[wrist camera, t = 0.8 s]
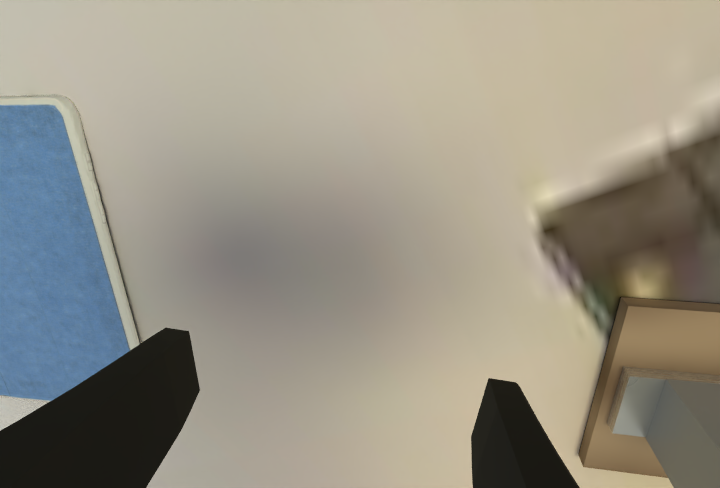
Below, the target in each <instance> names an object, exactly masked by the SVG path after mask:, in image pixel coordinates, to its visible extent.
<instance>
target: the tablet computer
mask: <svg viewBox="0 0 720 488" xmlns="http://www.w3.org/2000/svg"><path fill="white" fill-rule="evenodd" d="M139 344H140V343H139V339H138V335H137V332H136V328H135V324H134V321H133V317H132V313H131V310H130V306H129V302H128V299H127V295H126V291H125V288H124V284H123V280H122V277H121V273H120V269H119V266H118V262H117V258H116V255H115V251H114V247H113V243H112V240H111V236H110V232H109V229H108V225H107V221H106V216H105V213H104V209H103V206H102V202H101V198H100V193H99V190H98V186H97V183H96V179H95V175H94V172H93V167H92V163H91V158H90V155H89V151H88V148H87V144H86V140H85V136H84V131H83V127H82V123H81V118H80V115H79V113H78V110H77V108H76V106H75V105H74V103H73V102H72V101H71V100H70V99H68V98H67V97H64V96H62V95H37V96H31V97H29V96H0V397H7V398H17V399H27V400H36V401H46V402H50V401H52V400H54V399H55V398H57V397H59V396H60V395H62V394H64V393H65V392H67V391H69V390H70V389H72V388H73V387H75V386H77V385H78V384H80V383H81V382H83V381H84V380H86V379H87V378H89V377H91V376H92V375H94V374H95V373H97V372H98V371H100V370H101V369H103V368H104V367H106V366H108V365H109V364H111V363H112V362H114V361H115V360H117V359H118V358H120V357H121V356H123V355H124V354H126V353H127V352H129V351H130V350H132V349H133V348H135V347H136V346H138V345H139Z"/></svg>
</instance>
